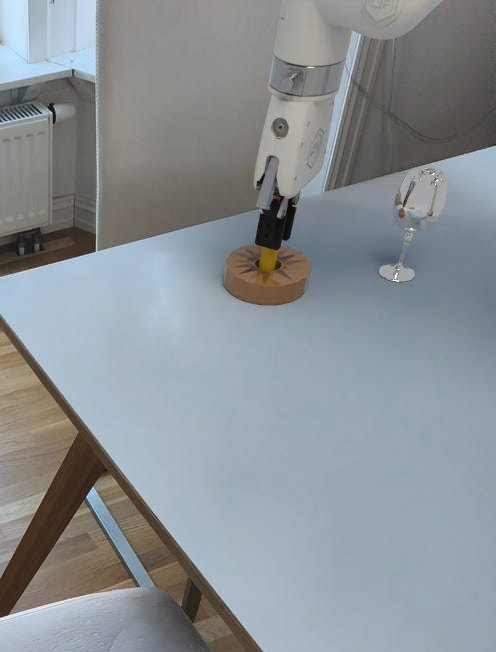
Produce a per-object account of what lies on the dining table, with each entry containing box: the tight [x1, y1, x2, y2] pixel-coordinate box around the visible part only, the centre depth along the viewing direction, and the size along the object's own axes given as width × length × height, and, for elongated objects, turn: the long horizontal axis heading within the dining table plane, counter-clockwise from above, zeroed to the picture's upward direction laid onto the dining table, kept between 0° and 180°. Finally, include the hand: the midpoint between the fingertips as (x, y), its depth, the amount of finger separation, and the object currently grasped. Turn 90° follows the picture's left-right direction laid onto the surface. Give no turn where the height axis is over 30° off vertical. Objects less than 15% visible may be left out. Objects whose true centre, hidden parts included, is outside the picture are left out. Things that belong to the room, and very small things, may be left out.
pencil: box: [258, 196, 288, 271], centre depth 108 cm, size 2×2×10 cm
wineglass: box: [378, 167, 449, 283], centre depth 108 cm, size 6×6×12 cm
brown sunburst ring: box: [222, 243, 312, 306], centre depth 112 cm, size 10×10×3 cm
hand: (272, 240), depth 108 cm, fingers closed on pencil, 2 cm apart
